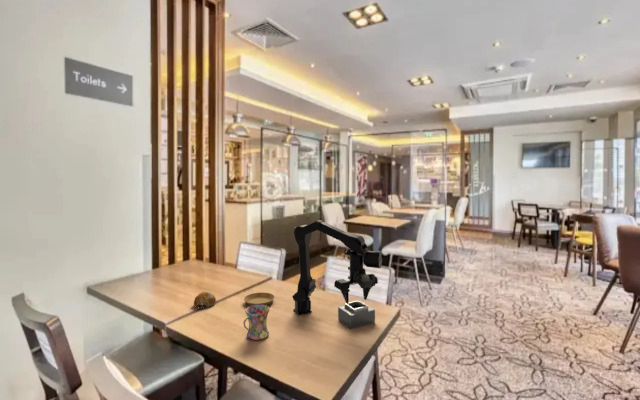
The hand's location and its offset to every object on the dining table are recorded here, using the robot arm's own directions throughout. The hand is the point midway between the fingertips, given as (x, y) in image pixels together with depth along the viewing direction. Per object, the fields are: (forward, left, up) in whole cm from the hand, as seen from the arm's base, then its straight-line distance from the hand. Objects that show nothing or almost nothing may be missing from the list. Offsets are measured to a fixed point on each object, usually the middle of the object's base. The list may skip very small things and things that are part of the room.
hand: (356, 301), depth 139 cm
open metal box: (0, 0, -8) cm, 8 cm away
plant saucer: (-30, +40, -9) cm, 51 cm away
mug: (-42, +7, -9) cm, 43 cm away
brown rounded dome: (-54, +50, -9) cm, 74 cm away
